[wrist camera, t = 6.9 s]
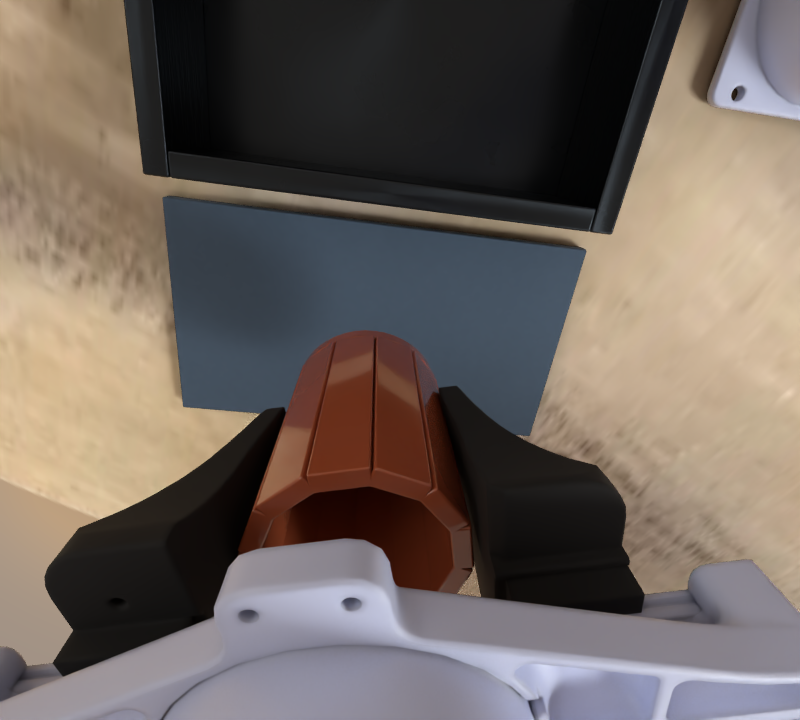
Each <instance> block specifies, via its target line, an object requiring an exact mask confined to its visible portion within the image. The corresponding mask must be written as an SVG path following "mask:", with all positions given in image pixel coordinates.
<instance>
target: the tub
mask: <svg viewBox="0 0 800 720" xmlns="http://www.w3.org/2000/svg"><path fill="white" fill-rule="evenodd" d="M687 3H688V0H124V8H125V16H126V25H127V34H128V43H129V52H130V60H131V69H132V78H133V87H134V96H135V104H136V113H137V122H138V131H139V140H140V148H141V157H142V166H143V173H144V174H146V175H153V176H161V177H172V178H177V179H184V180H192V181H200V182H207V183H215V184H223V185H231V186H238V187H246V188H254V189H262V190H269V191H277V192H285V193H293V194H300V195H308V196H316V197H323V198H331V199H339V200H347V201H354V202H362V203H370V204H378V205H385V206H393V207H401V208H409V209H416V210H424V211H432V212H439V213H447V214H455V215H463V216H470V217H478V218H486V219H494V220H501V221H509V222H517V223H525V224H532V225H540V226H548V227H555V228H563V229H571V230H579V231H586V232H587V231H590V232H594V233H601V234H609V235H610V234H612V232H613V229H614V226H615V223H616V220H617V217H618V214H619V211H620V208H621V205H622V202H623V199H624V196H625V193H626V189H627V186H628V183H629V180H630V177H631V174H632V171H633V168H634V165H635V162H636V159H637V156H638V153H639V150H640V147H641V144H642V140H643V137H644V134H645V131H646V128H647V125H648V122H649V119H650V116H651V113H652V110H653V107H654V104H655V101H656V98H657V95H658V91H659V88H660V85H661V82H662V79H663V76H664V73H665V70H666V67H667V64H668V61H669V58H670V55H671V52H672V49H673V46H674V43H675V39H676V36H677V33H678V30H679V27H680V24H681V21H682V18H683V15H684V12H685V9H686V6H687Z"/></svg>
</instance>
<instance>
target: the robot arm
mask: <svg viewBox="0 0 800 720" xmlns="http://www.w3.org/2000/svg"><path fill="white" fill-rule="evenodd" d="M734 88H737V91H738V94H737V97H736V98H735V100H732V98H731V94H732V91H733V90H734ZM707 100H708V103H709V104H710V105H711V106H713V107H717V108H723V109H729V110H735V111H742V112H748V113H754V114H760V115H767V116H773V117H779V118H785V119H791V120H798V121H800V0H741V3H740V5H739V8H738V11H737V13H736V16H735V19H734V22H733V24H732V27H731V30H730V32H729V35H728V38H727V41H726V43H725V46H724V49H723V51H722V54H721V57H720V60H719V62H718V65H717V68H716V70H715V73H714V76H713V79H712V81H711V84H710V87H709V89H708V94H707ZM439 397H440V401H441V405H442V409H443V414H444V417H445V419H446V422H447V426H448V430H449V434H450V439H451V443H452V447H453V451H454V455H455V459H456V463H457V468H458V472H459V476H460V480H461V484H462V488H463V492H464V496H465V501H466V505H467V509H468V513H469V517H470V521H471V525H472V536H473V552H474V563H475V568H476V573H477V578H478V583H479V588H480V594H481V597H476V596H468V595H460V594H452V593H444V592H436V591H428V590H420V589H412V588H403V587H399V586H397V585H396V584H395V582H394V580H393V577H392V572H391V567H390V562H389V560H388V558H387V557H386V555H385V553H384V552H383V550H382V549H381V548H379V547H377V546H375V545H373V544H372V543H370V542H368V541H366V540H361V539H347V538H345V539H336V540H328V541H319V542H311V543H303V544H294V545H286V546H277V547H269V548H261V549H256V550H253V551H250V552H247V553H244V554H241V555H239V556H238V546H239V543H240V540H241V537H242V534H243V531H244V529H245V526H246V523H247V520H248V517H249V515H250V512H251V509H252V506H253V503H254V500H255V498H256V495H257V492H258V489H259V486H260V483H261V481H262V478H263V475H264V472H265V469H266V467H267V464H268V461H269V458H270V455H271V452H272V450H273V447H274V444H275V441H276V438H277V435H278V433H279V430H280V427H281V424H282V421H283V419H284V416H285V413H286V411H285V408H284V407H279V408H271V409H266V410H265V411H263V412H262V413H261V414H260V415H259V416H257V417H256V418H255V419H254V420H253V421H252V422H251V423H250V424H249V425H248V426H247V427H246V428H244V429H243V430H242V431H241V432H240V433H239V434H238V435H237V436H236V437H235V438H233V439H232V440H231V441H230V442H229V443H228V444H227V445H225V446H224V447H223V448H222V449H220V450H219V451H218V452H217V453H216V454H214V455H213V456H212V457H211V458H210V459H208V460H207V461H206V462H204V463H203V464H202V465H200V466H199V467H198V468H196V469H195V470H193V471H192V472H190V473H189V474H187V475H186V476H184V477H183V478H181V479H180V480H178V481H176V482H175V483H173V484H171V485H170V486H168V487H166V488H164V489H163V490H161V491H159V492H158V493H156V494H154V495H152V496H150V497H148V498H146V499H145V500H143V501H141V502H139V503H137V504H134V505H132V506H130V507H128V508H126V509H124V510H122V511H120V512H117V513H115V514H113V515H110V516H108V517H105V518H103V519H100V520H98V521H96V522H93V523H91V524H88V525H86V526H83V527H80V528H79V529H78V530H77V531H76V533H75V534H74V535H73V536H72V538H71V539H70V540H69V541H68V543H67V544H66V545H65V546H64V548H63V549H62V550H61V552H60V553H59V554H58V555H57V557H56V558H55V559H54V561H53V562H52V563H51V564H50V565H49V567H48V569H47V571H46V574H45V587H46V589H47V591H48V593H49V595H50V597H51V599H52V601H53V602H54V603H55V605H56V606H57V608H58V609H59V611H60V612H61V613H62V615H63V616H64V618H65V619H66V620H67V622H68V623H69V625H70V626H71V628H72V629H73V632H72V633H71V635H70V636H69V638H68V640H67V641H66V643H65V644H64V646H63V648H62V649H61V651H60V652H59V654H58V655H57V657H56V659H55V660H54V662H53V663H49V664H41V665H32V666H27V665H26V662H25V661H24V659H23V658H22V656H21V655H20V654H19V653H18V652H17V651H15V650H14V649H12V648H9V647H1V646H0V720H800V613H799V612H798V610H797V609H796V608H795V607H794V606H793V605H792V604H791V603H790V602H789V600H788V599H787V598H786V597H785V596H784V595H783V594H782V593H781V592H780V590H779V589H778V588H777V587H776V586H775V585H774V584H773V583H772V582H771V580H770V579H769V578H768V577H767V576H766V575H765V574H764V573H763V572H762V570H761V569H760V568H759V567H758V566H757V565H756V564H755V563H754V562H753V561H752V560H749V559H743V560H735V561H726V562H718V563H709V564H704V565H701V566H698V567H697V568H695V569H694V570H693V571H692V573H691V575H690V577H689V581H688V589H687V590H679V591H670V592H662V593H653V594H644V592H643V591H642V589H641V587H640V586H639V584H638V582H637V581H636V579H635V577H634V575H633V574H632V572H631V570H630V569H629V567H628V565H629V563H630V560H629V557H628V555H627V553H626V552H625V550H624V548H623V547H622V542H623V535H624V528H625V521H626V506H625V504H624V501H623V499H622V497H621V495H620V494H619V493H618V491H617V490H616V488H615V487H614V485H613V484H612V483H611V482H610V480H609V479H608V478H607V477H606V476H605V475H604V473H603V472H602V471H601V470H600V469H599V468H598V466H596V465H592V464H589V463H585V462H581V461H577V460H573V459H569V458H566V457H563V456H561V455H558V454H555V453H552V452H549V451H547V450H545V449H542V448H540V447H538V446H536V445H533V444H531V443H529V442H527V441H525V440H523V439H521V438H519V437H518V436H516V435H514V434H513V433H511V432H509V431H508V430H506V429H505V428H503V427H502V426H500V425H499V424H498V423H496V422H495V421H494V420H492V419H491V418H490V417H489V416H488V415H486V414H485V413H484V412H483V411H482V410H481V409H480V408H479V407H477V406H476V405H475V404H474V403H473V402H472V401H471V400H470V399H469V398H468V397H467V396H466V395H465V393H464V392H463V391H462V390H461V389H460V388H459V387H458V386H449V387H441V388H439Z"/></svg>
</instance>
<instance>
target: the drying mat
mask: <svg viewBox="0 0 800 720" xmlns="http://www.w3.org/2000/svg"><path fill="white" fill-rule="evenodd" d="M163 206H164V217H165V227H166V237H167V247H168V257H169V267H170V278H171V288H172V298H173V308H174V318H175V328H176V339H177V349H178V359H179V369H180V379H181V389H182V400H183V407H190V408H202V409H214V410H226V411H238V412H250V413H262V412H263V411H265V410H266V409H271V408H279V407H284V408H285V411H286V410H287V407H288V404H289V402H290V399H291V396H292V393H293V390H294V388H295V385H296V382H297V380H298V377H299V374H300V371H301V369H302V366H303V365H304V363H305V361H306V360H307V358H308V357H309V356H310V355H311V353H312V352H313V351H314V350H315V349H316V348H318V347H319V346H320V345H321V344H323V343H324V342H326V341H327V340H329V339H331V338H333V337H335V336H338V335H341V334H344V333H347V332H352V331H361V330H371V331H379V332H385V333H388V334H391V335H394V336H397V337H399V338H401V339H403V340H405V341H406V342H408V343H409V344H411V345H412V346H413V347H415V348H416V349H417V350H418V351H419V352H420V353H421V354H422V355H423V356H424V358H425V359H426V361H427V362H428V364H429V366H430V368H431V370H432V372H433V374H434V376H435V379H436V381H437V385H438V389H439V388H441V387H449V386H458V387H459V388H460V389H461V390H462V391H463V392H464V393H465V395H466V396H467V397H468V398H469V399H470V400H471V401H472V402H473V403H474V404H475V405H476V406H477V407H479V408H480V409H481V410H482V411H483V412H484V413H485V414H486V415H488V416H489V417H490V418H491V419H492V420H494V421H495V422H496V423H498V424H499V425H500V426H502V427H503V428H505V429H506V430H508V431H509V432H511V433H513V434H514V435H524V436H530V433H531V430H532V426H533V423H534V420H535V417H536V413H537V410H538V407H539V404H540V400H541V397H542V394H543V391H544V387H545V384H546V381H547V378H548V374H549V371H550V368H551V365H552V361H553V358H554V355H555V351H556V348H557V345H558V342H559V338H560V335H561V332H562V329H563V325H564V322H565V319H566V316H567V312H568V309H569V306H570V303H571V299H572V296H573V293H574V290H575V286H576V283H577V280H578V277H579V273H580V270H581V267H582V264H583V260H584V257H585V254H586V250H585V249H583V248H581V247H574V246H566V245H558V244H550V243H542V242H534V241H526V240H518V239H510V238H502V237H494V236H486V235H478V234H470V233H462V232H454V231H446V230H438V229H431V228H423V227H415V226H407V225H399V224H391V223H383V222H375V221H367V220H359V219H351V218H343V217H335V216H327V215H319V214H311V213H303V212H295V211H287V210H279V209H271V208H263V207H255V206H248V205H240V204H232V203H224V202H216V201H208V200H200V199H192V198H184V197H176V196H166V197H163Z"/></svg>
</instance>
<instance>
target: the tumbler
mask: <svg viewBox="0 0 800 720" xmlns="http://www.w3.org/2000/svg"><path fill="white" fill-rule="evenodd" d="M345 538H347V539H361V540H366V541H368V542H370V543H372V544H373V545H375V546H377V547H379V548H381V549H382V550H383V552H384V553H385V555H386V557H387V558H388V560H389V562H390V567H391V572H392V577H393V580H394V582H395V584H396V585H397V586H399V587H403V588H412V589H420V590H428V591H436V592H444V593H452V594H457V593H458V591H459V590H460V588H461V587H462V586H463V584H464V583H465V581H466V580H467V579H468V577H469V576H470V574H471V573H472V567H474V552H473V536H472V525H471V521H470V517H469V513H468V509H467V505H466V501H465V496H464V492H463V488H462V484H461V480H460V476H459V472H458V468H457V463H456V459H455V455H454V451H453V447H452V443H451V439H450V434H449V430H448V426H447V422H446V419H445V417H444V414H443V409H442V405H441V401H440V397H439V389H438V385H437V381H436V379H435V376H434V374H433V372H432V370H431V368H430V366H429V364H428V362H427V361H426V359H425V358H424V356H423V355H422V354H421V353H420V352H419V351H418V350H417V349H416V348H415V347H413V346H412V345H411V344H409V343H408V342H406V341H405V340H403V339H401V338H399V337H397V336H394V335H391V334H388V333H385V332H379V331H371V330H361V331H352V332H347V333H344V334H341V335H338V336H335V337H333V338H331V339H329V340H327V341H326V342H324V343H323V344H321V345H320V346H319V347H318V348H316V349H315V350H314V351H313V352H312V353H311V355H310V356H309V357H308V358H307V360H306V361H305V363H304V365H303V366H302V369H301V371H300V374H299V377H298V380H297V382H296V385H295V388H294V390H293V393H292V396H291V399H290V402H289V404H288V407H287V410H286V413H285V416H284V419H283V421H282V424H281V427H280V430H279V433H278V435H277V438H276V441H275V444H274V447H273V450H272V452H271V455H270V458H269V461H268V464H267V467H266V469H265V472H264V475H263V478H262V481H261V483H260V486H259V489H258V492H257V495H256V498H255V500H254V503H253V506H252V509H251V512H250V515H249V517H248V520H247V523H246V526H245V529H244V531H243V534H242V537H241V540H240V543H239V546H238V556H239V555H241V554H244V553H247V552H250V551H253V550H256V549H261V548H269V547H277V546H286V545H294V544H303V543H311V542H319V541H328V540H336V539H345Z"/></svg>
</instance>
